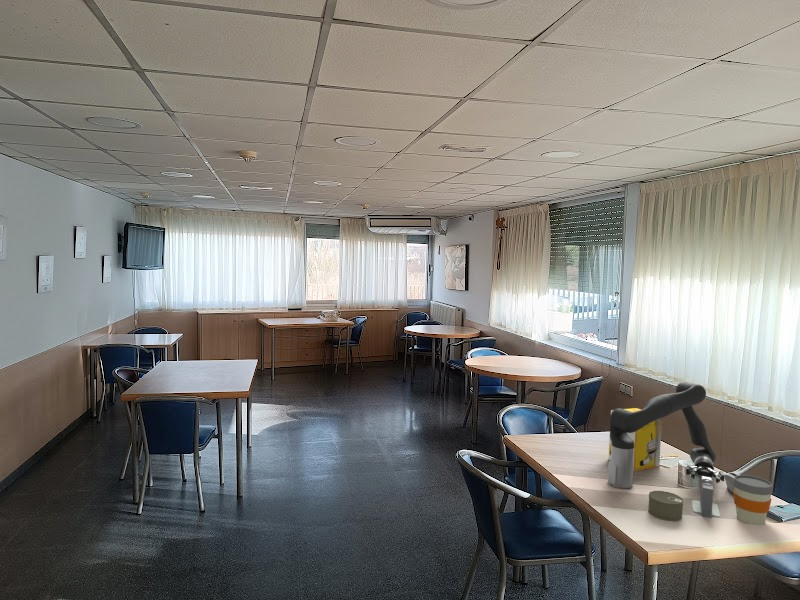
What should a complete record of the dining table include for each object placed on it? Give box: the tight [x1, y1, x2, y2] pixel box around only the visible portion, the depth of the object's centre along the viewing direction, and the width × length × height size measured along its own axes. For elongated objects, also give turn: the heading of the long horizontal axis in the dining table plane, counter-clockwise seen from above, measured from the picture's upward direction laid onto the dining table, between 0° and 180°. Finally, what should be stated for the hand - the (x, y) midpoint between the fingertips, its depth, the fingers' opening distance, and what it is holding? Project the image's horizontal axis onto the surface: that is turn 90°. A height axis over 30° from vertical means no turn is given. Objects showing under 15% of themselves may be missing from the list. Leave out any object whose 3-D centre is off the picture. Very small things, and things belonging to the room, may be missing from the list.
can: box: [647, 490, 684, 522], centre depth 203 cm, size 12×12×7 cm
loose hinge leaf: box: [699, 476, 713, 505], centre depth 210 cm, size 3×6×11 cm, turn 152°
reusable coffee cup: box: [732, 474, 774, 526], centre depth 200 cm, size 13×13×15 cm
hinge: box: [724, 471, 741, 493], centre depth 222 cm, size 17×5×10 cm, turn 177°
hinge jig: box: [691, 483, 721, 519], centre depth 208 cm, size 14×9×11 cm, turn 152°
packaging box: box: [608, 407, 663, 472], centre depth 258 cm, size 16×16×25 cm
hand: (705, 478), depth 220 cm, fingers open, 8 cm apart
